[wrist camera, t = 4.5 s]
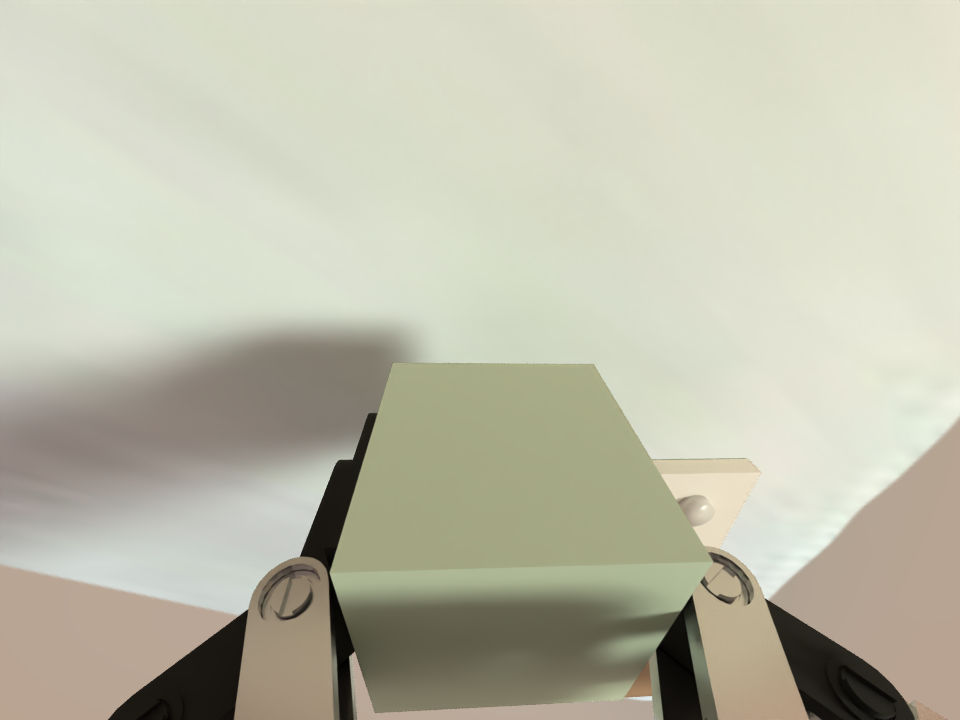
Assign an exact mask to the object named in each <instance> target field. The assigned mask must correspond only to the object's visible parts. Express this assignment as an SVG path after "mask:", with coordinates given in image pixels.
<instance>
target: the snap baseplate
mask: <svg viewBox="0 0 960 720" xmlns="http://www.w3.org/2000/svg"><path fill="white" fill-rule="evenodd" d="M652 461H653V463H654V465H655V466H656V468H657V469H658V471H659V473H660V474H661V476H662V478H663V479H664V481H665V483H666V484H667V486H668V488H669V489H670V491H671V493H672V494H673V496H674V498H675V499H676V501H677V502H678V504H679V506H680V507H681V509H682V511H683V512H684V514H685V516H686V517H687V519H688V521H689V522H690V524H691V526H692V527H693V529H694V530H695V532H696V534H697V535H698V537H699V539H700V540H701V542H702V544H703V545H704V546H710V547H715V548H718V549H719V548H720V546H721V545H722V543H723V541H724V539H725V537H726V536H727V534H728V532H729V530H730V528H731V527H732V525H733V523H734V521H735V519H736V518H737V516H738V514H739V512H740V511H741V509H742V507H743V505H744V503H745V502H746V500H747V498H748V496H749V494H750V493H751V491H752V489H753V487H754V485H755V484H756V482H757V480H758V478H759V477H760V475H761V473H762V472H761V471H760V470H759V469H758V468H757V467H756V466H755V465H754V464H753V463H752V462H751V461H750V460H749V459H692V460H652Z"/></svg>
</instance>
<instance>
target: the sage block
mask: <svg viewBox="0 0 960 720" xmlns="http://www.w3.org/2000/svg"><path fill="white" fill-rule="evenodd" d="M712 563H713V560H712V559H711V557H710V555H709V554H708V552H707V550H706V549H705V547H704V545H703V544H702V542H701V540H700V539H699V537H698V535H697V534H696V532H695V530H694V529H693V527H692V526H691V524H690V522H689V521H688V519H687V517H686V516H685V514H684V512H683V511H682V509H681V507H680V506H679V504H678V502H677V501H676V499H675V498H674V496H673V494H672V493H671V491H670V489H669V488H668V486H667V484H666V483H665V481H664V479H663V478H662V476H661V474H660V473H659V471H658V469H657V468H656V466H655V465H654V463H653V461H652V460H651V458H650V456H649V455H648V453H647V451H646V450H645V448H644V446H643V445H642V443H641V441H640V440H639V438H638V436H637V435H636V433H635V432H634V430H633V428H632V427H631V425H630V423H629V422H628V420H627V418H626V417H625V415H624V413H623V412H622V410H621V408H620V407H619V405H618V403H617V402H616V400H615V399H614V397H613V395H612V394H611V392H610V390H609V389H608V387H607V385H606V384H605V382H604V380H603V379H602V377H601V375H600V374H599V372H598V370H597V369H596V367H595V366H594V364H479V363H393V364H392V368H391V371H390V374H389V378H388V381H387V384H386V388H385V391H384V394H383V397H382V401H381V404H380V407H379V411H378V414H377V417H376V421H375V424H374V427H373V431H372V434H371V437H370V441H369V444H368V447H367V451H366V454H365V457H364V461H363V464H362V467H361V471H360V474H359V477H358V481H357V484H356V487H355V490H354V494H353V497H352V500H351V504H350V507H349V510H348V514H347V517H346V520H345V524H344V527H343V530H342V534H341V537H340V540H339V544H338V547H337V550H336V554H335V557H334V560H333V564H332V567H331V570H330V576H331V579H332V582H333V585H334V588H335V591H336V594H337V597H338V600H339V603H340V606H341V610H342V613H343V616H344V619H345V622H346V625H347V628H348V631H349V634H350V637H351V641H352V644H353V647H354V650H355V653H356V656H357V659H358V662H359V665H360V668H361V671H362V675H363V677H364V681H365V684H366V687H367V690H368V693H369V696H370V699H371V702H372V705H373V708H374V711H375V713H383V712H403V711H421V710H439V709H457V708H458V709H459V708H478V707H497V706H515V705H535V704H554V703H573V702H592V701H611V700H623V699H624V697H625V695H626V694H627V692H628V691H629V689H630V688H631V686H632V685H633V683H634V682H635V680H636V679H637V677H638V676H639V674H640V673H641V671H642V670H643V668H644V667H645V665H646V664H647V662H648V661H649V659H650V658H651V656H652V654H653V653H654V651H655V650H656V648H657V647H658V645H659V644H660V642H661V641H662V639H663V638H664V636H665V635H666V633H667V632H668V630H669V629H670V627H671V626H672V624H673V623H674V621H675V620H676V618H677V617H678V615H679V613H680V612H681V610H682V609H683V607H684V606H685V604H686V603H687V601H688V600H689V598H690V597H691V595H692V594H693V592H694V591H695V589H696V588H697V586H698V585H699V583H700V582H701V580H702V579H703V577H704V576H705V574H706V572H707V571H708V569H709V568H710V566H711V565H712Z"/></svg>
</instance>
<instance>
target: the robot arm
mask: <svg viewBox="0 0 960 720" xmlns="http://www.w3.org/2000/svg"><path fill="white" fill-rule="evenodd" d="M377 414H378V413H369V414H368V416H367V419H366V422H365V425H364V428H363V431H362V434H361V437H360V440H359V443H358V446H357V449H356V452H355V455H354V458H353V460H339V461H338V462H337V463H336V465H335V467H334V469H333V472H332V475H331V477H330V480H329V482H328V485H327V488H326V490H325V493H324V495H323V498H322V501H321V503H320V506H319V508H318V511H317V514H316V516H315V519H314V521H313V524H312V526H311V529H310V532H309V534H308V537H307V539H306V542H305V545H304V547H303V550H302V552H301V555H300V557H298V558H292V559H290V560H287V561H285V562H283V563H281V564H279V565H278V566H276V567H275V568H273V569H272V570H271V571H269V572H268V573H267V574H266V575H265V577H264V578H263V579H262V580H261V581H260V582H259V584H258V585H257V587H256V589H255V590H254V592H253V594H252V597H251V601H250V604H249V609H248V610H247V611H245V612H244V613H243V614H241V615H240V616H239V617H237V618H236V619H235V620H233V621H232V622H230V623H229V624H228V625H226V626H225V627H224V628H222V629H221V630H220V631H218V632H217V633H216V634H214V635H213V636H212V637H210V638H209V639H208V640H206V641H205V642H204V643H202V644H201V645H200V646H198V647H197V648H196V649H194V650H193V651H191V652H190V653H189V654H187V655H186V656H185V657H183V658H182V659H181V660H179V661H178V662H177V663H175V664H174V665H173V666H171V667H170V668H169V669H167V670H166V671H165V672H163V673H162V674H161V675H160V676H158V677H157V678H155V679H154V680H153V681H151V682H150V683H149V684H147V685H146V686H144V687H143V688H142V689H141V690H139V691H138V692H136V693H135V694H134V695H133V696H131V697H130V698H129V699H128V700H127V701H126V702H125V703H124V704H122V705H121V706H120V707H119V708H118V709H117V710H116V711H115V712H114V713H113V715H112V716H111V717H110V718H109V719H108V720H357V712H356V700H355V687H354V675H353V674H354V673H353V661H352V653H354V652H355V650H354V647H353V644H352V641H351V637H350V634H349V631H348V628H347V625H346V622H345V619H344V616H343V613H342V610H341V606H340V603H339V600H338V597H337V594H336V591H335V588H334V585H333V582H332V579H331V576H330V570H331V567H332V564H333V560H334V557H335V554H336V550H337V547H338V544H339V540H340V537H341V534H342V530H343V527H344V524H345V520H346V517H347V514H348V510H349V507H350V504H351V500H352V497H353V494H354V490H355V487H356V484H357V481H358V477H359V474H360V471H361V467H362V464H363V461H364V457H365V454H366V451H367V447H368V444H369V441H370V437H371V434H372V431H373V427H374V424H375V421H376V417H377ZM704 547H705V549H706V550H707V552H708V554H709V555H710V557H711V559H712V560H713V563H712V565H711V566H710V568H709V569H708V571H707V572H706V574H705V576H704V577H703V579H702V580H701V582H700V583H699V585H698V586H697V588H696V589H695V591H694V592H693V594H692V595H691V597H690V598H689V600H688V601H687V603H686V604H685V606H684V607H683V609H682V610H681V612H680V613H679V615H678V617H677V618H676V620H675V621H674V623H673V624H672V626H671V627H670V629H669V630H668V632H667V633H666V635H665V636H664V638H663V639H662V641H661V642H660V644H659V645H658V647H657V648H656V650H655V651H654V653H653V654H652V656H651V658H650V659H649V667H650V678H651V688H652V699H653V709H654V719H655V720H947V719H946V718H944V717H942V716H941V715H939V714H937V713H936V712H934V711H932V710H930V709H929V708H927V707H925V706H924V705H922V704H921V703H919V702H917V701H915V700H914V701H913V702H911V703H908V702H906V701H905V700H904V698H902V696H901V695H900V693H899V692H898V691H897V690H896V689H895V687H894V686H893V685H892V684H891V683H890V682H889V681H888V680H887V679H886V678H885V677H884V676H883V675H882V674H881V673H880V672H879V671H878V670H876V669H875V668H873V667H872V666H871V665H869V664H868V663H867V662H865V661H864V660H863V659H861V658H859V657H858V656H856V655H855V654H853V653H851V652H850V651H848V650H847V649H845V648H843V647H842V646H840V645H839V644H837V643H835V642H834V641H832V640H831V639H829V638H828V637H826V636H824V635H823V634H821V633H820V632H818V631H816V630H815V629H813V628H812V627H810V626H808V625H807V624H805V623H803V622H802V621H800V620H799V619H797V618H795V617H794V616H792V615H791V614H789V613H788V612H786V611H784V610H783V609H781V608H780V607H778V606H776V605H775V604H773V603H772V602H770V601H768V600H767V599H765V598H764V595H763V593H762V590H761V587H760V586H759V584H758V582H757V580H756V578H755V576H754V575H753V574H752V573H751V571H750V570H749V569H748V568H747V567H746V566H745V565H744V564H743V563H742V562H741V561H739V560H738V559H737V558H736V557H734V556H732V555H731V554H729V553H727V552H726V551H723V550H721V549H718V548H715V547H710V546H704Z"/></svg>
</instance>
